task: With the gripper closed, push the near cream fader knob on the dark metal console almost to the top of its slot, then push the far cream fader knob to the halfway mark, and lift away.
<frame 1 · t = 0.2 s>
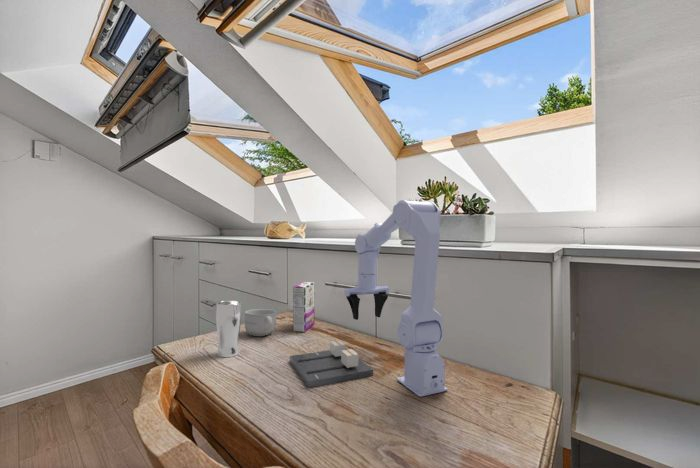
hand: (366, 317, 104), 10 cm above the table, fingers open, 7 cm apart
candy bar box: (303, 328, 125), on the table
beer glass: (228, 354, 98), on the table
fader near: (349, 357, 87), point 4 cm above the table, slide at 0.0 cm
fader console: (329, 368, 89), on the table
teacup: (261, 335, 116), on the table
fader far: (337, 347, 94), point 4 cm above the table, slide at 0.0 cm
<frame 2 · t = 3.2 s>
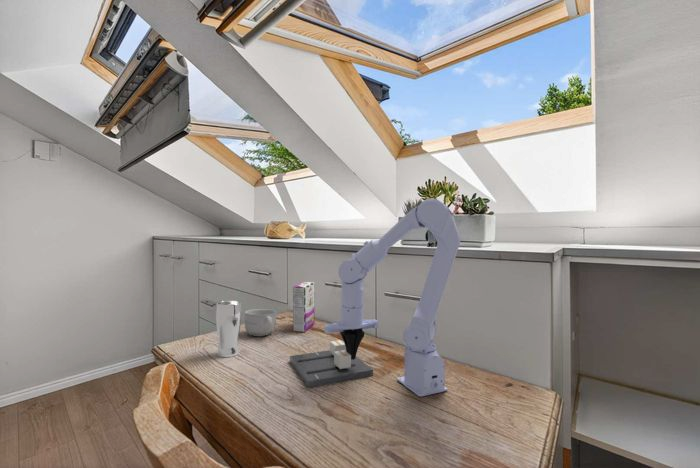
hand: (351, 358, 87), 3 cm above the table, fingers closed
fader near: (342, 359, 86), point 4 cm above the table, slide at 2.1 cm, touching gripper
everything else where it was.
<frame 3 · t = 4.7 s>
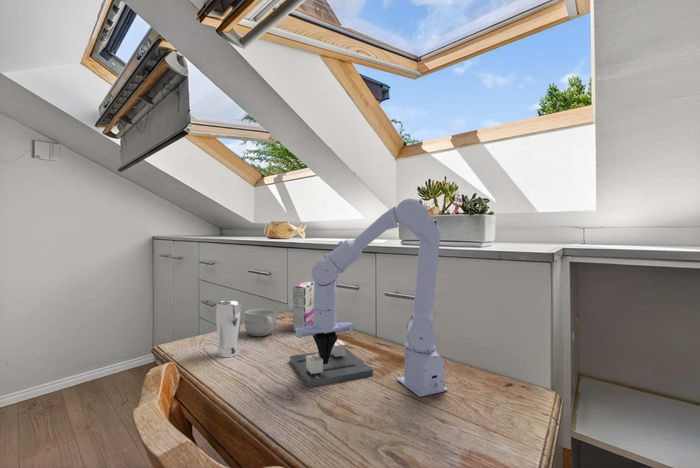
hand: (324, 362, 84), 3 cm above the table, fingers closed
fader near: (314, 363, 83), point 4 cm above the table, slide at 9.6 cm, touching gripper
everything else where it was.
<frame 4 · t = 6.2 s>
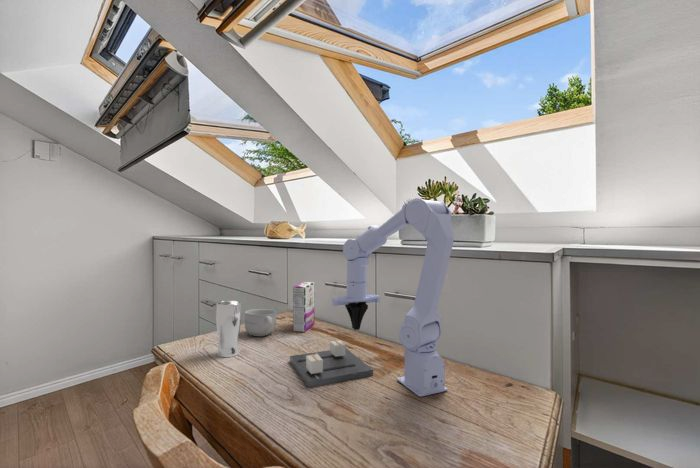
hand: (355, 328, 96), 8 cm above the table, fingers closed
fader near: (314, 363, 83), point 4 cm above the table, slide at 9.6 cm
everything else where it was.
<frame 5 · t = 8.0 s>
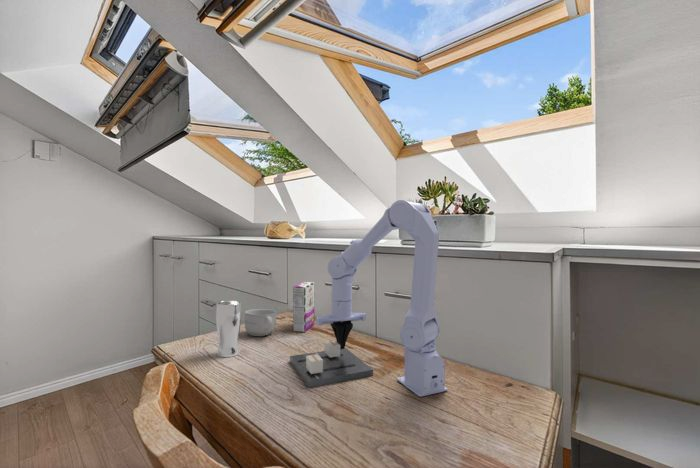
hand: (341, 347, 95), 3 cm above the table, fingers closed
fader far: (332, 348, 94), point 4 cm above the table, slide at 1.6 cm, touching gripper
everything else where it was.
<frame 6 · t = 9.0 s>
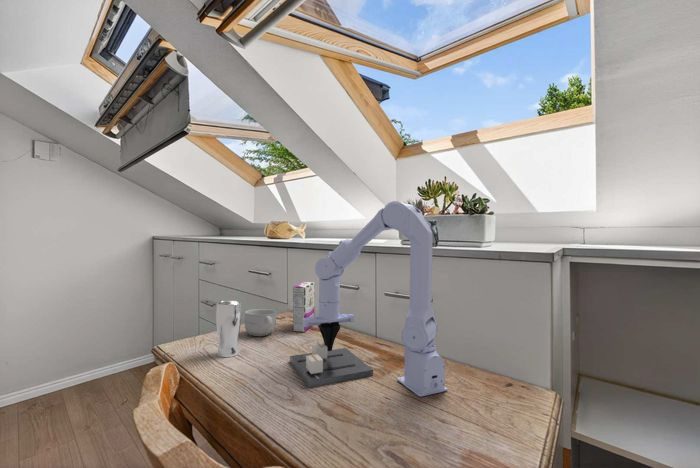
hand: (328, 349, 93), 3 cm above the table, fingers closed
fader far: (319, 350, 92), point 4 cm above the table, slide at 5.4 cm, touching gripper
everything else where it was.
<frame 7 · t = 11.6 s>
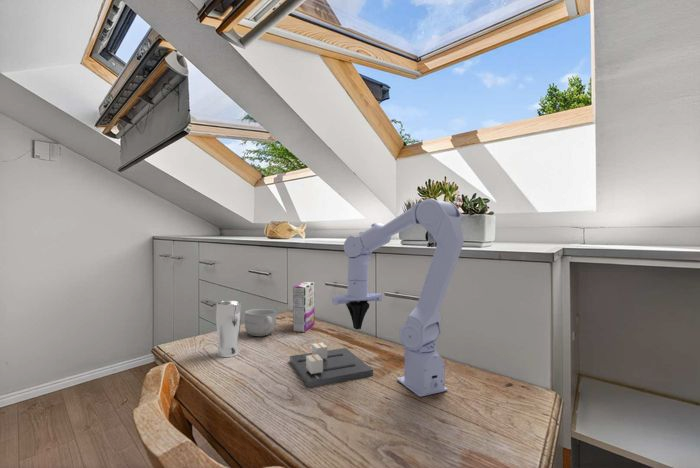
hand: (357, 328, 93), 9 cm above the table, fingers closed
fader far: (319, 350, 92), point 4 cm above the table, slide at 5.4 cm
everything else where it was.
at the end: fader near slide at 9.6 cm; fader far slide at 5.4 cm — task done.
